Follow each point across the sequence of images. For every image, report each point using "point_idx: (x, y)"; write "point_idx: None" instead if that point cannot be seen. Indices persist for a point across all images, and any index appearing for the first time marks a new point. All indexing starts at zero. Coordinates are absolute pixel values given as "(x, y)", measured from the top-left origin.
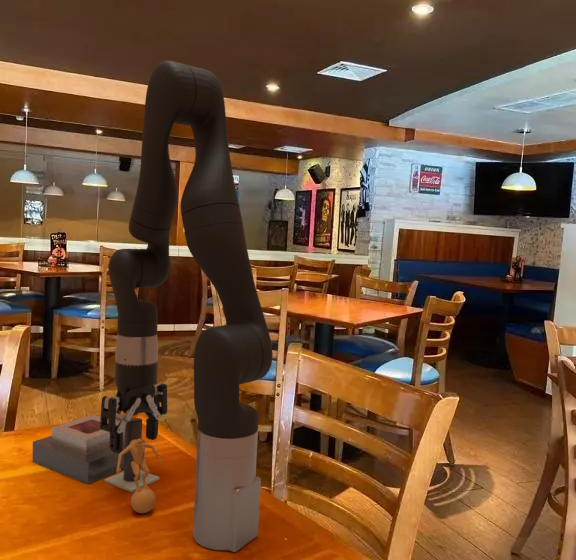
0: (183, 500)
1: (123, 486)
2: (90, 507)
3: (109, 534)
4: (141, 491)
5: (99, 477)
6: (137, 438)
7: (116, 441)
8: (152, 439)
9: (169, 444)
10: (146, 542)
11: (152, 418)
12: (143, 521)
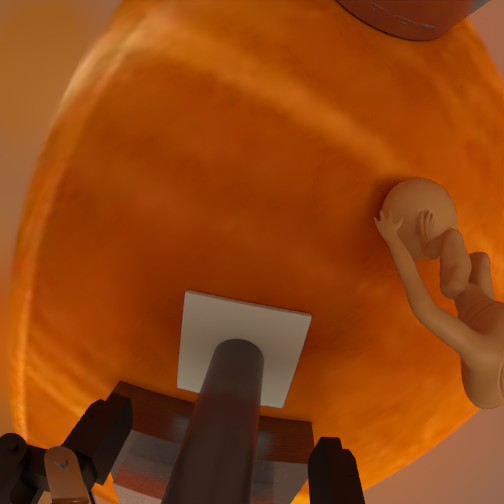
0: (282, 134)
1: (298, 350)
2: (417, 347)
3: (499, 228)
4: (450, 223)
5: (274, 421)
6: (228, 452)
7: (353, 480)
8: (130, 402)
9: (32, 359)
10: (495, 132)
11: (87, 474)
12: (440, 183)
